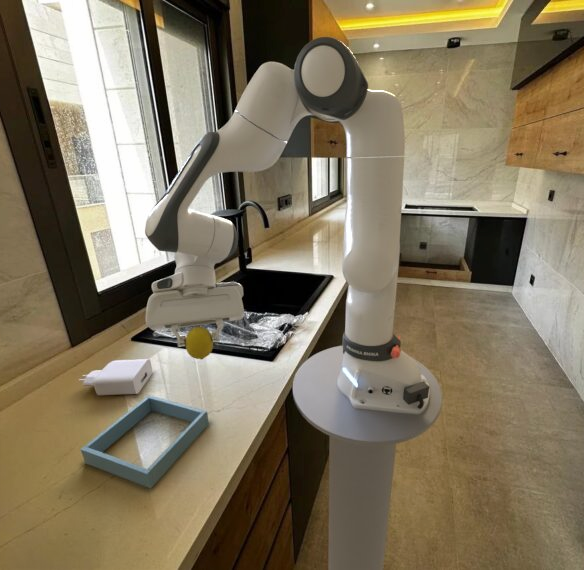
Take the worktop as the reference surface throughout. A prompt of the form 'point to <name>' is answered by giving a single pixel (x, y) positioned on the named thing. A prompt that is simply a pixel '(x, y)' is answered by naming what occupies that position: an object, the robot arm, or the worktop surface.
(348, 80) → the robot arm
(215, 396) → the worktop surface
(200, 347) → the lemon
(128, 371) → the charger
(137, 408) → the blue bin
